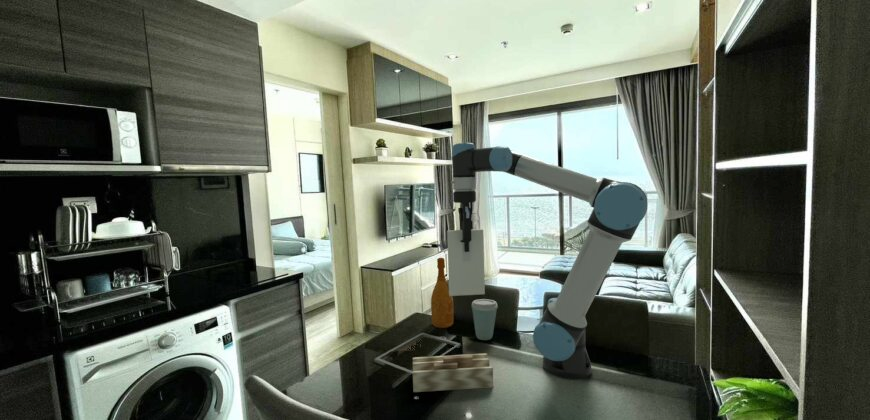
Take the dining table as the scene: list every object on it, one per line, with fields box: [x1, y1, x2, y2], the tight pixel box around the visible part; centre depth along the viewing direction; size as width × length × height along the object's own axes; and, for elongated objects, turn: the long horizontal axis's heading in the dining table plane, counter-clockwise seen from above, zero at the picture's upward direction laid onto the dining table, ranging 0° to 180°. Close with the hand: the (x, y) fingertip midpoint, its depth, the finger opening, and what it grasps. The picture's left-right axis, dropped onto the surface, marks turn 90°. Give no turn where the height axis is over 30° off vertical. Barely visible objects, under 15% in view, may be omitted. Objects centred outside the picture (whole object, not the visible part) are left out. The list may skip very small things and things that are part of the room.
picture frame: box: [373, 332, 462, 375], centre depth 134 cm, size 19×2×30 cm
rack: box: [412, 353, 494, 393], centre depth 111 cm, size 24×9×7 cm, turn 93°
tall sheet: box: [446, 228, 486, 297], centre depth 121 cm, size 12×2×22 cm, turn 94°
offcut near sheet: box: [443, 354, 473, 368], centre depth 111 cm, size 9×2×8 cm, turn 93°
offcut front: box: [434, 362, 458, 370], centre depth 109 cm, size 7×2×7 cm, turn 93°
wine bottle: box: [430, 257, 454, 329], centre depth 158 cm, size 10×10×30 cm
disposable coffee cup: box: [471, 298, 499, 341], centre depth 145 cm, size 11×11×15 cm
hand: (466, 260), depth 121 cm, fingers closed on tall sheet, 2 cm apart
